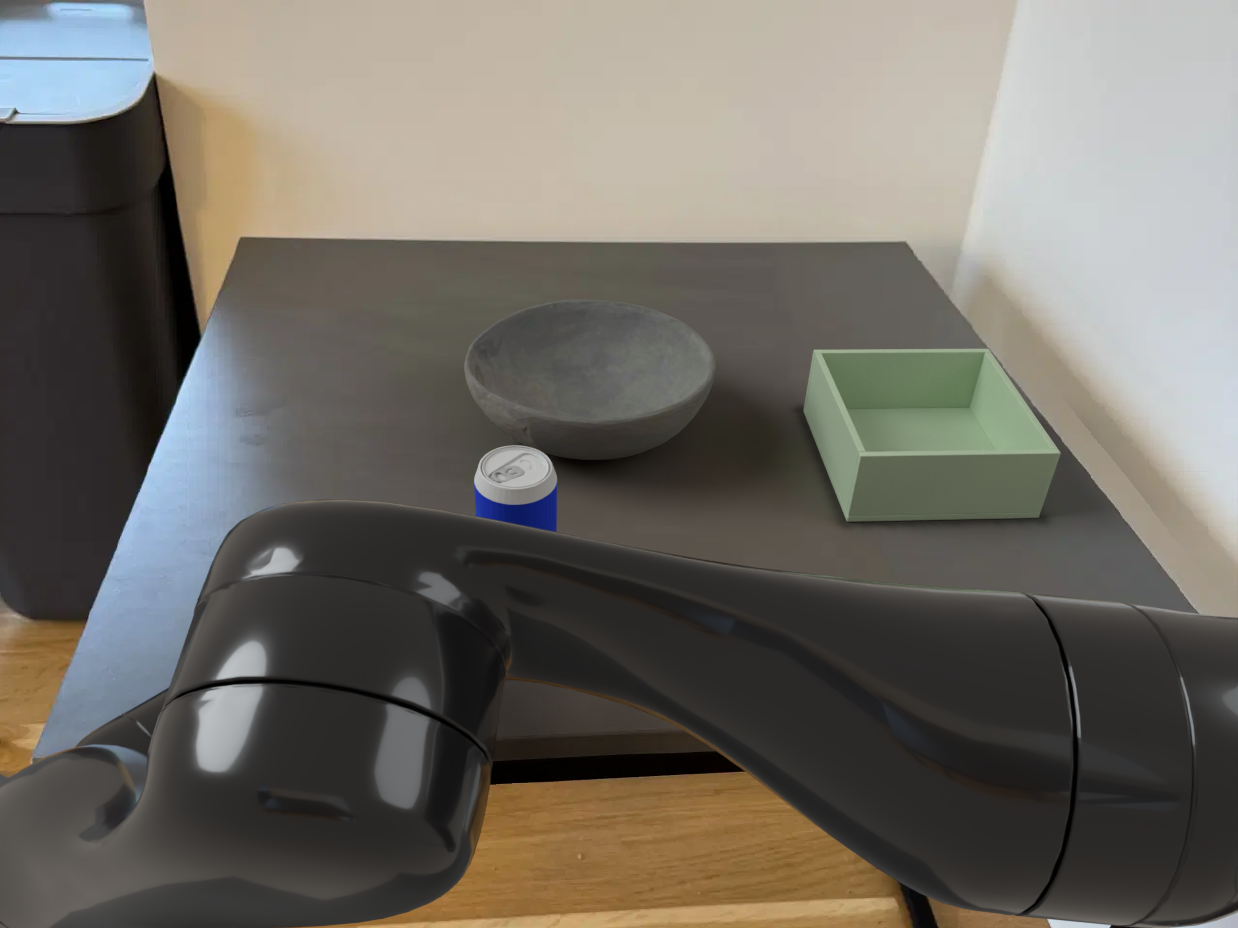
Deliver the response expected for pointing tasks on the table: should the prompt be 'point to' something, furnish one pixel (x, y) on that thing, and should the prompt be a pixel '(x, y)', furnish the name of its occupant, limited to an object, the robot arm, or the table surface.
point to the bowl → (590, 377)
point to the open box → (926, 435)
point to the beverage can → (517, 487)
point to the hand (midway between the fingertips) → (495, 557)
